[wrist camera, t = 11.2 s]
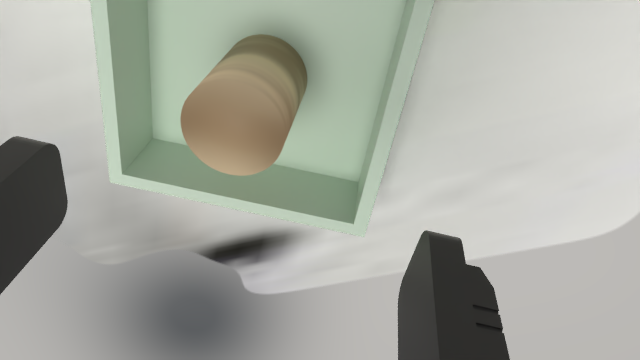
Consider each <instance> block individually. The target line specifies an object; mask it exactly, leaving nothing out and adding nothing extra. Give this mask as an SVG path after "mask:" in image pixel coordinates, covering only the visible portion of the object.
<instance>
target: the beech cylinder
mask: <svg viewBox="0 0 640 360" xmlns="http://www.w3.org/2000/svg"><path fill="white" fill-rule="evenodd" d="M306 87H307V72H306V68H305V65H304V62H303V60H302V58H301V57H300V55H299V54H298V52H297V51H296V50H295V49H294V48H293V47H292V46H291V45H290V44H288V43H287V42H285V41H284V40H282V39H280V38H277V37H274V36H271V35H264V34H258V35H252V36H248V37H246V38H243V39H242V40H240V41H239V42H237V43H236V44H235V45H234V46H233V47H232V48H231V49H230V51H229V52H228V53H227V54H226V55H225V56H224V57H223V58H222V59H221V61H220V62H219V63H218V64H217V65H216V66H215V67H214V68H213V69H212V70H211V72H210V73H209V74H208V75H207V76H206V77H205V78H204V79H203V80H202V81H201V83H200V84H199V85H198V86H197V87H196V88H195V89H194V90H193V91H192V93H191V94H190V95H189V96H188V97H187V99H186V100H185V102H184V105H183V107H182V111H181V118H180V121H181V129H182V133H183V136H184V139H185V141H186V143H187V145H188V146H189V148H190V149H191V151H192V152H193V153H194V154H195V155H196V156H197V157H198V158H199V159H200V160H201V161H202V162H203V163H205V164H206V165H208V166H209V167H211V168H213V169H215V170H217V171H220V172H222V173H226V174H230V175H237V176H245V175H252V174H256V173H259V172H261V171H264V170H265V169H267V168H268V167H270V166H271V165H272V164H273V163H274V162H275V161H276V160H277V159H278V157H279V155H280V154H281V151H282V149H283V146H284V144H285V141H286V139H287V136H288V134H289V131H290V129H291V126H292V124H293V121H294V119H295V116H296V114H297V111H298V109H299V106H300V104H301V101H302V99H303V96H304V94H305V91H306Z"/></svg>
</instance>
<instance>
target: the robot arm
mask: <svg viewBox="0 0 640 360" xmlns="http://www.w3.org/2000/svg"><path fill="white" fill-rule="evenodd" d="M66 210H67V194H66V188H65V182H64V176H63V170H62V164H61V158H60V153H59V150H58V148H57V147H56V146H55V145H53V144H50V143H46V142H41V141H37V140H32V139H28V138H24V137H19V136H16V137H12V138H10V139H9V140H8V141H6V142H5V143H4V144H2V145H1V146H0V294H1V293H2V292H3V291H4V290H5V288H6V287H7V286H8V285H9V284H10V283H11V281H12V280H13V279H14V278H15V277H16V276H17V274H18V273H19V272H20V271H21V270H22V269H23V268H24V267H25V265H26V264H27V263H28V262H29V261H30V260H31V259H32V257H33V256H34V255H35V254H36V253H37V252H38V251H39V249H40V248H41V247H42V246H43V245H44V244H45V243H46V241H47V240H48V239H49V238H50V237H51V236H52V235H53V233H54V232H55V231H56V230H57V229H58V228H59V226H60V225H61V223H62V221H63V219H64V217H65V214H66ZM498 311H499V309H498V305H497V300H496V296H495V292H494V288H493V286H492V285H491V284H490V282H489V280H488V279H487V277H486V276H485V274H484V273H483V271H482V270H481V268H479V267H475V266H471V265H467V264H466V263H465V257H464V251H463V245H462V241H461V239H460V238H457V237H453V236H448V235H444V234H440V233H435V232H431V231H424V232H423V233H422V235H421V237H420V239H419V242H418V244H417V246H416V249H415V251H414V254H413V256H412V258H411V261H410V263H409V265H408V268H407V270H406V272H405V275H404V277H403V280H402V283H401V287H400V292H399V298H398V360H510V359H509V354H508V350H507V345H506V341H505V336H504V333H502V329H503V327H502V323H501V318H500V315H498Z"/></svg>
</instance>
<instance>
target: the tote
mask: <svg viewBox="0 0 640 360" xmlns="http://www.w3.org/2000/svg"><path fill="white" fill-rule="evenodd" d="M434 2H435V0H90V3H91V12H92V21H93V31H94V40H95V49H96V59H97V68H98V77H99V86H100V96H101V105H102V114H103V124H104V133H105V142H106V152H107V161H108V170H109V179H110V183H115V184H120V185H124V186H129V187H134V188H138V189H143V190H147V191H152V192H157V193H161V194H166V195H171V196H175V197H180V198H185V199H189V200H194V201H199V202H203V203H208V204H212V205H217V206H222V207H226V208H231V209H236V210H240V211H245V212H250V213H254V214H259V215H263V216H268V217H273V218H277V219H282V220H287V221H291V222H296V223H301V224H305V225H310V226H314V227H319V228H324V229H328V230H333V231H338V232H342V233H347V234H352V235H356V236H361V237H364V236H365V233H366V229H367V226H368V223H369V219H370V216H371V213H372V209H373V206H374V203H375V199H376V196H377V193H378V189H379V186H380V183H381V179H382V176H383V172H384V169H385V166H386V162H387V159H388V156H389V152H390V149H391V146H392V142H393V139H394V136H395V132H396V129H397V126H398V122H399V119H400V115H401V112H402V109H403V105H404V102H405V99H406V95H407V92H408V89H409V85H410V82H411V79H412V75H413V72H414V69H415V65H416V62H417V58H418V55H419V52H420V48H421V45H422V42H423V38H424V35H425V32H426V28H427V25H428V22H429V18H430V15H431V12H432V8H433V5H434ZM258 34H264V35H271V36H274V37H277V38H280V39H282V40H284V41H285V42H287V43H288V44H290V45H291V46H292V47H293V48H294V49H295V50H296V51H297V52H298V54H299V55H300V57H301V58H302V60H303V62H304V65H305V68H306V72H307V87H306V91H305V94H304V96H303V99H302V101H301V104H300V106H299V109H298V111H297V114H296V116H295V119H294V121H293V124H292V126H291V129H290V131H289V134H288V136H287V139H286V141H285V144H284V146H283V149H282V151H281V154H280V155H279V157H278V159H277V160H276V161H275V162H274V163H273V164H272V165H271V166H270V167H268V168H267V169H265V170H264V171H261V172H259V173H256V174H252V175H245V176H237V175H230V174H226V173H222V172H220V171H217V170H215V169H213V168H211V167H209V166H208V165H206V164H205V163H203V162H202V161H201V160H200V159H199V158H198V157H197V156H196V155H195V154H194V153H193V152H192V151H191V149H190V148H189V146H188V145H187V143H186V141H185V139H184V136H183V133H182V129H181V121H180V118H181V111H182V107H183V105H184V102H185V100H186V99H187V97H188V96H189V95H190V94H191V93H192V91H193V90H194V89H195V88H196V87H197V86H198V85H199V84H200V83H201V81H202V80H203V79H204V78H205V77H206V76H207V75H208V74H209V73H210V72H211V70H212V69H213V68H214V67H215V66H216V65H217V64H218V63H219V62H220V61H221V59H222V58H223V57H224V56H225V55H226V54H227V53H228V52H229V51H230V49H231V48H232V47H233V46H234V45H235V44H236V43H237V42H239V41H240V40H242V39H243V38H246V37H248V36H252V35H258Z"/></svg>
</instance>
